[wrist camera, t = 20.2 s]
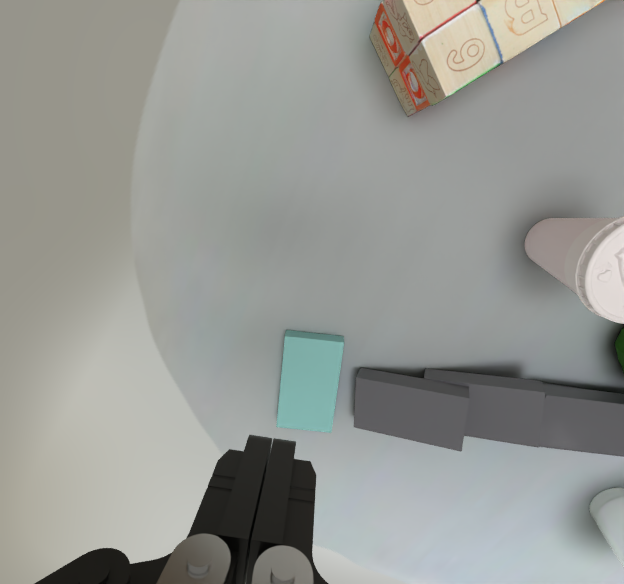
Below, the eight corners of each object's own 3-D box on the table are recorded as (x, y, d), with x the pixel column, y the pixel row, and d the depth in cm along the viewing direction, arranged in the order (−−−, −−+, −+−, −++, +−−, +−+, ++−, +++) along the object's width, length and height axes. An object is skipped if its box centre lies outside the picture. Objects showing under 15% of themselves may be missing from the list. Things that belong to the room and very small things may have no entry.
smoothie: (545, 295, 32) (703, 385, 19) (490, 248, 31) (615, 307, 18) (607, 234, 31) (829, 285, 17) (551, 182, 29) (740, 193, 16)
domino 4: (534, 383, 33) (637, 395, 34) (518, 431, 35) (616, 443, 35) (546, 395, 32) (654, 407, 32) (528, 445, 33) (632, 457, 33)
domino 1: (278, 415, 37) (286, 327, 34) (330, 420, 37) (343, 334, 34) (276, 426, 35) (284, 336, 33) (331, 432, 35) (344, 342, 33)
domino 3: (425, 368, 34) (541, 380, 31) (424, 417, 36) (534, 433, 33) (423, 378, 33) (545, 392, 30) (422, 428, 34) (538, 447, 31)
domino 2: (360, 367, 35) (468, 386, 32) (358, 415, 36) (461, 437, 33) (356, 377, 33) (469, 398, 30) (353, 427, 35) (461, 451, 32)
